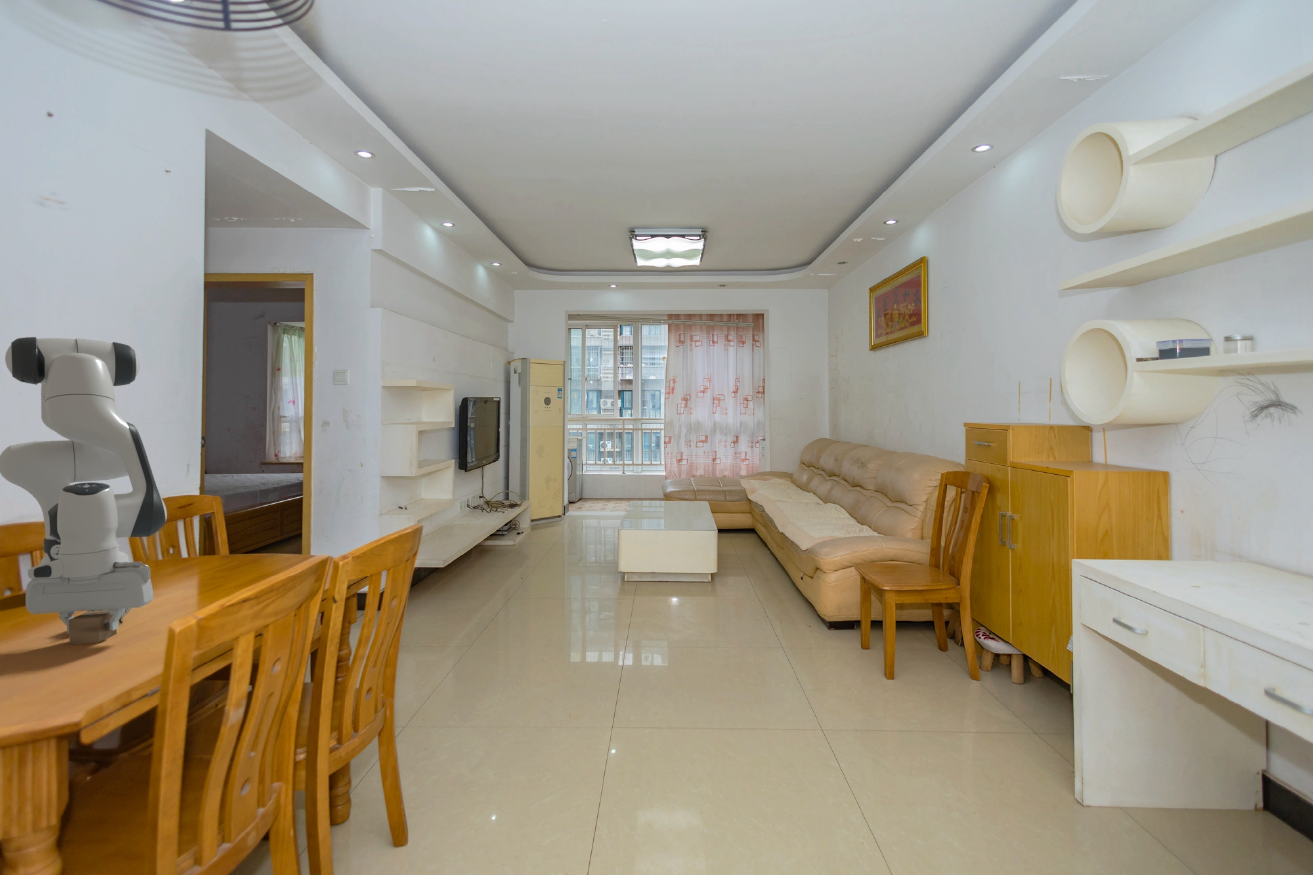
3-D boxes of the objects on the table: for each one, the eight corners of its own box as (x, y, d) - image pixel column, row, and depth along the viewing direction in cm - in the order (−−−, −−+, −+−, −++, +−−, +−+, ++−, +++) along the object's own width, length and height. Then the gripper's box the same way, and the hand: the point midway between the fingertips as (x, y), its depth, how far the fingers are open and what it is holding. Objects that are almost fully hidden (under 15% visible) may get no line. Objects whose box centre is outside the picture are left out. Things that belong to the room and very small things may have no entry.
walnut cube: (88, 635, 122) (87, 611, 122) (116, 633, 123) (115, 609, 123) (69, 644, 117) (68, 619, 117) (99, 642, 118) (98, 617, 118)
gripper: (158, 557, 124) (161, 621, 125) (43, 562, 120) (47, 629, 121) (139, 564, 118) (142, 632, 119) (17, 570, 114) (20, 640, 115)
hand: (93, 630), depth 120 cm, fingers closed on walnut cube, 5 cm apart
